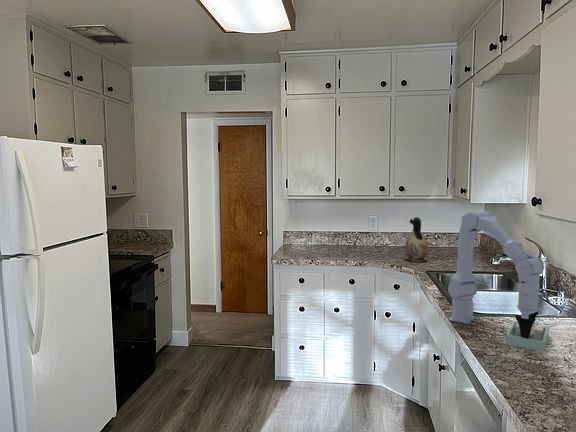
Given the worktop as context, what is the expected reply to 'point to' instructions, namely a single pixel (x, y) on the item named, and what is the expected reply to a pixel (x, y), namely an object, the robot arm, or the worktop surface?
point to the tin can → (530, 332)
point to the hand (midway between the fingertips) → (526, 334)
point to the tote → (526, 339)
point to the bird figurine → (416, 243)
